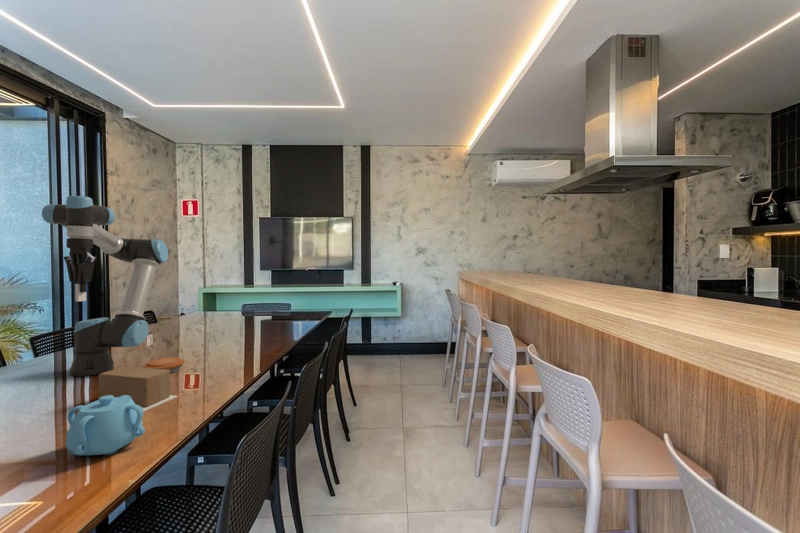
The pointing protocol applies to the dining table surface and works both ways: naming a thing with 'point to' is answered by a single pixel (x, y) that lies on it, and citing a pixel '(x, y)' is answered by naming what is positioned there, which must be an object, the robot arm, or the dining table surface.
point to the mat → (158, 403)
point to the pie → (166, 364)
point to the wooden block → (136, 384)
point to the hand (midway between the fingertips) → (80, 300)
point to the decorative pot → (104, 426)
